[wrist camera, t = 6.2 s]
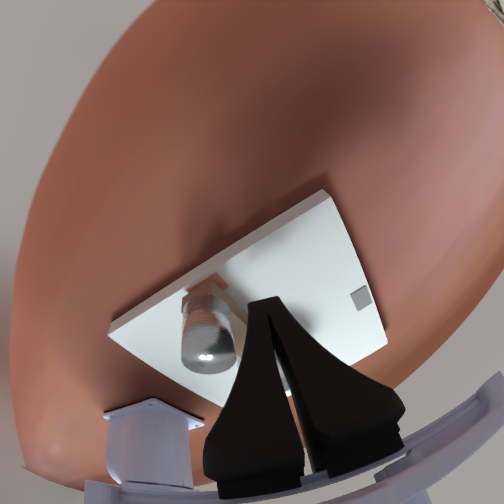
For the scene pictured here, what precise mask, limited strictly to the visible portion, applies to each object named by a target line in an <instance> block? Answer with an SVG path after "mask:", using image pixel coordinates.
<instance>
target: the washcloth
mask: <svg viewBox="0 0 504 504" xmlns="http://www.w3.org/2000/svg"><path fill="white" fill-rule="evenodd" d="M482 1H483V2H484V4H485V5H486V6H487V8H488V9H489V10H490V11H491V12H492V13H493V15H494V16H496V18H497V19H498V20H499V22H500V23H501V24H502V25H503V26H504V0H482Z"/></svg>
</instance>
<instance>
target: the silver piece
mask: <svg viewBox="0 0 504 504" xmlns="http://www.w3.org/2000/svg"><path fill="white" fill-rule="evenodd" d="M181 313H182V314H183V316H182V343H181V361H182V363H183V365H184V366H185V367H186V368H187V369H189V370H190V371H192V372H195V373H199V374H206V375H211V374H218V373H222V372H225V371H227V370H229V369H230V368H231V367H233V366H234V364H235V363H236V361H237V367H238V369H239V365H240V362H241V358H242V353H243V349H244V344H245V338H246V332H247V323H248V314H247V313H246V312H245V311H244V310H243V309H242V308H241V307H240V306H239V305H238V304H236V303H235V302H234V301H233V300H232V299H231V298H230V297H229V296H228V295H227V294H226V293H225V292H224V291H223V290H222V289H221V288H220V287H219V286H218V285H217V284H216V283H214V282H213V281H212V280H211V279H209V280H208V281H206V282H205V283H203V284H202V285H200V286H199V287H197V288H196V289H194V290H193V291H191V292H190V293H188V294H187V295H185V296H184V297H182V308H181ZM274 351H275V350H274ZM275 357H276V363H277V366H278V369H279V373H280V376H281V379H282V383H283V386H284V389H285V392H286V391H289V390H290V389H289V386H288V383H287V381H286V378H285V376H284V373H283V371H282V368H281V366H280V363H279V360H278V358H277V355H276V353H275Z"/></svg>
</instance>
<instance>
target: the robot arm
mask: <svg viewBox="0 0 504 504" xmlns="http://www.w3.org/2000/svg"><path fill="white" fill-rule="evenodd" d="M247 307H248V323H247V332H246V338H245V344H244V349H243V353H242V358H241V362H240V365H239V369H238V372H237V375H236V378H235V381H234V383H233V386H232V389H231V391H230V394H229V396H228V399H227V401H226V403H225V405H224V407H223V409H222V411H221V413H220V415H219V417H218V419H217V421H216V422H215V424H214V426H213V427H212V429H211V431H210V432H209V434H208V436H207V437H206V440H205V444H204V450H203V470H204V475H205V476H206V477H208V478H210V479H212V480H214V481H216V482H217V488H218V491H205V492H199V490H194V489H193V479H192V468H191V456H190V441H189V430H190V429H194V428H198V427H201V426H204V425H205V422H204V421H202V420H200V419H198V418H195V417H193V416H191V415H189V414H186V413H184V412H182V411H180V410H178V409H176V408H174V407H172V406H170V405H168V404H166V403H164V402H162V401H160V400H158V399H155V398H151V399H148V400H145V401H142V402H139V403H136V404H133V405H130V406H127V407H124V408H121V409H118V410H114V411H111V412H108V413H104V414H103V417H104V418H105V419H107V420H109V425H108V434H107V445H106V467H107V470H108V472H109V474H110V475H111V477H112V478H113V479H114V480H115V481H116V482H118V483H119V484H120V486H118V485H111V484H107V483H102V482H96V481H91V480H85V492H84V504H241V503H249V502H256V501H263V500H269V499H275V498H280V497H285V496H289V495H294V494H298V493H302V492H306V491H310V490H313V489H317V488H321V487H324V486H327V485H330V484H333V483H336V482H339V481H342V480H345V479H348V478H351V477H353V476H356V475H359V474H361V473H364V472H366V471H369V470H371V469H373V468H376V467H378V466H380V465H383V464H385V463H387V462H389V461H391V460H393V459H395V458H397V457H399V456H401V455H403V454H405V453H407V454H406V456H405V457H403V458H401V459H400V460H398V461H396V462H394V463H392V464H390V465H388V466H386V467H385V468H384V469H383V470H381V471H379V472H378V473H376V474H375V475H374V478H375V480H376V483H375V484H372V485H370V486H367V487H365V488H362V489H360V490H357V491H354V492H352V493H349V494H346V495H343V496H340V497H337V498H334V499H331V500H328V501H324V502H321V503H317V504H432V503H431V501H430V498H429V496H428V493H427V491H426V489H427V488H429V487H430V486H432V485H433V484H435V483H436V482H438V481H439V480H441V479H442V478H443V477H445V476H446V475H448V474H449V473H450V472H451V471H453V470H454V469H456V468H457V467H458V466H459V465H461V464H462V463H463V462H464V461H466V460H467V459H468V458H469V457H470V456H472V455H473V454H474V453H475V452H476V451H477V450H479V449H480V448H481V447H482V446H483V445H484V444H485V443H486V442H487V441H488V440H489V439H490V438H491V437H492V436H493V435H494V434H496V433H497V432H498V431H499V429H501V428H502V426H504V377H503V375H502V374H501V372H500V371H498V372H497V373H495V374H494V375H493V376H492V377H491V378H490V379H489V380H487V381H486V382H485V383H484V384H483V385H482V386H481V387H480V388H479V389H478V390H477V391H476V393H475V394H474V395H472V396H471V397H470V398H468V399H467V400H465V401H464V402H463V403H461V404H460V405H458V406H457V407H456V408H454V409H453V410H451V411H450V412H448V413H446V414H445V415H443V416H442V417H440V418H439V419H437V420H435V421H434V422H432V423H430V424H429V425H427V426H425V427H424V428H422V429H420V430H418V431H416V432H415V433H413V434H411V435H409V436H407V437H405V438H403V439H401V437H400V435H399V433H398V432H399V431H400V428H399V426H398V424H397V422H398V421H399V419H400V418H401V417H402V416H403V414H404V412H405V410H406V409H405V407H404V404H403V402H402V401H401V399H400V398H399V396H398V395H397V394H396V393H395V391H394V390H393V389H392V388H390V387H387V386H385V385H383V384H381V383H379V382H377V381H375V380H373V379H371V378H369V377H367V376H365V375H363V374H361V373H360V372H358V371H357V370H355V369H353V368H352V367H350V366H349V365H347V364H346V363H344V362H343V361H341V360H340V359H338V358H337V357H336V356H334V355H333V354H332V353H330V352H329V351H328V350H327V349H325V348H324V347H323V346H322V345H321V344H320V343H319V342H317V341H316V340H315V339H314V338H313V337H312V336H311V335H310V334H309V333H308V332H307V331H306V330H305V329H304V328H303V327H302V326H301V325H300V323H299V322H298V321H297V320H296V319H295V318H294V317H293V315H292V314H291V313H290V312H289V310H288V309H287V308H286V306H285V305H284V304H283V302H282V301H281V299H280V297H278V296H274V297H269V298H265V299H261V300H257V301H253V302H249V303H248V304H247ZM274 350H275V351H274ZM275 353H276V355H277V358H278V360H279V363H280V366H281V368H282V371H283V373H284V376H285V378H286V381H287V383H288V386H289V389H290V392H291V394H292V398H293V401H294V405H295V408H296V412H297V416H298V419H299V423H300V427H301V430H302V434H303V438H304V441H305V445H306V449H307V453H308V456H309V460H310V464H311V468H312V472H313V474H310V475H307V476H304V466H305V461H304V460H305V456H304V455H305V453H304V450H303V446H302V443H301V439H300V436H299V433H298V430H297V427H296V424H295V421H294V418H293V415H292V412H291V409H290V405H289V402H288V399H287V396H286V393H285V389H284V386H283V383H282V379H281V376H280V373H279V369H278V366H277V363H276V357H275ZM302 476H303V477H302Z"/></svg>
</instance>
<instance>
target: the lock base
mask: <svg viewBox="0 0 504 504" xmlns="http://www.w3.org/2000/svg"><path fill="white" fill-rule="evenodd" d="M209 279H211V280H212V281H213V282H214V283H216V284H217V285H218V286H219V287H220V288H221V289H222V290H223V291H224V292H225V293H226V294H227V295H228V296H229V297H230V298H231V299H232V300H233V301H234V302H235V303H236V304H238V305H239V306H240V307H241V308H242V309H243V310H244V311H245V312H246V313H247V314H248V307H247V304H248V303H249V302H253V301H257V300H261V299H265V298H269V297H274V296H278V297H280V299H281V301H282V302H283V304H284V305H285V306H286V308H287V309H288V310H289V312H290V313H291V314H292V315H293V317H294V318H295V319H296V320H297V321H298V322H299V323H300V325H301V326H302V327H303V328H304V329H305V330H306V331H307V332H308V333H309V334H310V335H311V336H312V337H313V338H314V339H315V340H316V341H317V342H319V343H320V344H321V345H322V346H323V347H324V348H325V349H327V350H328V351H329V352H330V353H332V354H333V355H334V356H336V357H337V358H338V359H340V360H341V361H343V362H344V363H346V364H347V365H349V366H350V365H352V364H354V363H356V362H358V361H359V360H361V359H363V358H364V357H366V356H368V355H370V354H371V353H373V352H375V351H376V350H378V349H379V348H381V347H383V346H384V345H386V344H387V343H388V342H387V338H386V335H385V332H384V329H383V326H382V323H381V320H380V317H379V314H378V311H377V308H376V305H375V302H374V299H373V296H372V293H371V291H370V288H369V285H368V283H367V280H366V277H365V275H364V272H363V269H362V267H361V264H360V262H359V259H358V257H357V254H356V252H355V249H354V247H353V245H352V242H351V240H350V237H349V235H348V233H347V231H346V228H345V226H344V224H343V221H342V219H341V217H340V215H339V213H338V210H337V208H336V206H335V204H334V202H333V200H332V198H331V196H330V195H329V194H327V193H326V192H325V191H324V190H323V189H321V190H319V191H318V192H316V193H314V194H313V195H311V196H309V197H308V198H306V199H304V200H303V201H301V202H299V203H298V204H296V205H295V206H293V207H291V208H290V209H288V210H286V211H285V212H283V213H282V214H280V215H278V216H277V217H275V218H273V219H272V220H270V221H269V222H267V223H265V224H264V225H262V226H261V227H259V228H257V229H256V230H254V231H252V232H251V233H249V234H248V235H246V236H244V237H243V238H241V239H240V240H238V241H237V242H235V243H233V244H232V245H230V246H229V247H227V248H225V249H224V250H222V251H221V252H219V253H218V254H216V255H214V256H213V257H211V258H210V259H208V260H207V261H205V262H203V263H202V264H200V265H199V266H197V267H196V268H194V269H192V270H191V271H189V272H188V273H186V274H185V275H183V276H182V277H180V278H178V279H177V280H175V281H174V282H172V283H171V284H169V285H168V286H166V287H165V288H163V289H161V290H160V291H158V292H157V293H155V294H154V295H152V296H151V297H149V298H148V299H146V300H145V301H143V302H142V303H140V304H139V305H137V306H136V307H134V308H132V309H131V310H129V311H128V312H126V313H125V314H123V315H122V316H120V317H119V318H117V319H116V320H114V321H113V322H111V324H110V328H109V331H108V336H109V337H110V338H111V339H113V340H114V341H115V342H117V343H118V344H120V345H121V346H122V347H124V348H125V349H126V350H128V351H129V352H131V353H132V354H133V355H135V356H136V357H138V358H139V359H141V360H142V361H144V362H145V363H147V364H148V365H150V366H151V367H153V368H154V369H156V370H157V371H159V372H161V373H162V374H164V375H165V376H167V377H169V378H170V379H172V380H174V381H175V382H177V383H179V384H180V385H182V386H184V387H186V388H187V389H189V390H191V391H193V392H194V393H196V394H198V395H200V396H202V397H204V398H205V399H207V400H209V401H211V402H213V403H215V404H217V405H219V406H221V407H224V405H225V403H226V401H227V399H228V396H229V394H230V391H231V389H232V386H233V383H234V381H235V378H236V375H237V372H238V367H237V361H236V363H235V364H234V366H233V367H231V368H230V369H229V370H227V371H225V372H222V373H218V374H211V375H206V374H199V373H195V372H192V371H190V370H189V369H187V368H186V367H185V366H184V365H183V363H182V361H181V343H182V316H183V314H182V313H181V308H182V297H184V296H185V295H187V294H188V293H190V292H191V291H193V290H194V289H196V288H197V287H199V286H200V285H202V284H203V283H205V282H206V281H208V280H209ZM285 393H286V396H290V395H292V394H291V392H290V390H289V391H286V392H285Z"/></svg>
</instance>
